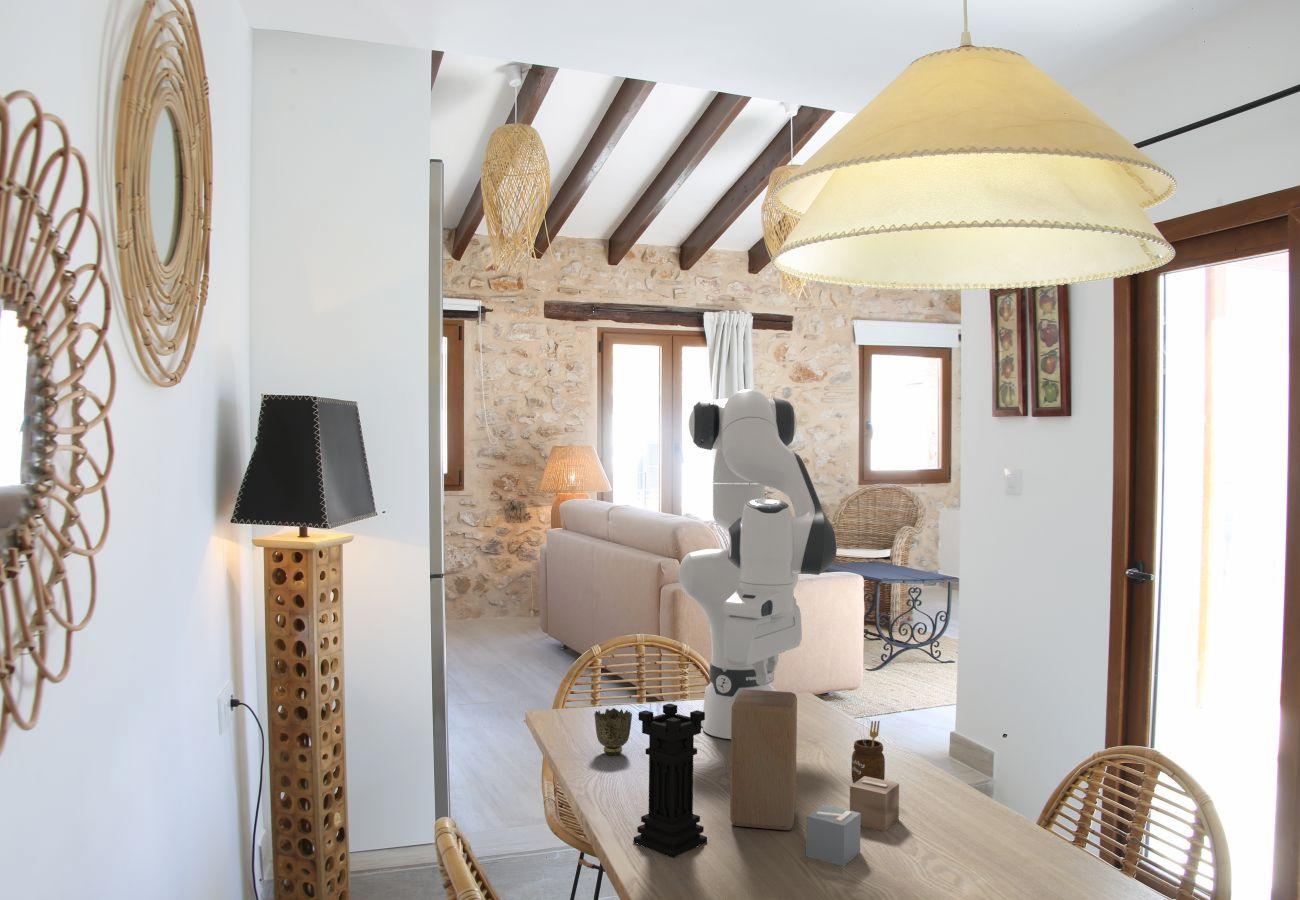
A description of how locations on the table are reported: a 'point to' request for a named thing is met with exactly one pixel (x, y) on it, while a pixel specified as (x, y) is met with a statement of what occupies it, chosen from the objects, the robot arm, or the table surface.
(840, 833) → the slate numbered cube
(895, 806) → the walnut numbered cube
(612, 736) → the cup
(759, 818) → the block
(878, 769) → the utensil holder
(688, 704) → the table surface
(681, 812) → the chess piece
